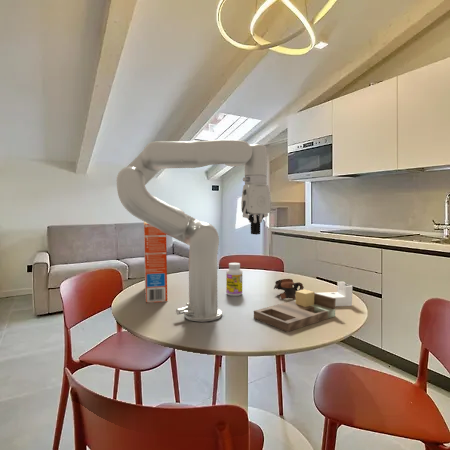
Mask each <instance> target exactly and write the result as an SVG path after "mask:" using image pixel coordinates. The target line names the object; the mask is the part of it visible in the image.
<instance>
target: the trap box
mask: <svg viewBox="0 0 450 450" xmlns="http://www.w3.org/2000/svg"><path fill="white" fill-rule="evenodd" d="M299 289H300V288H299ZM300 290H301V289H300ZM317 293H318V292H314V305H311V306H307V307H304V306H301V305H298V304H296V299H294V300H291V301H287V302H282V303H279V304H275V305H271V306H267V307H263V308H260V309H256V310H255V309H254V310H253V319H254V320H255V319H256V320H257V321H260V322H262V323H265V324H267V325H270V326H272V327H274V328H277V329H279V330H282V331H284V332H287V333H288V332H292V331H294V330H298V329H300V328H304V327H307V326H310V325H313V324H316V323H318V322H321V321H324V320H327V319H330V318H333V317H336V306H335V301H336V299H335V298H332V297H328V296H324V295H320V294H317Z"/></svg>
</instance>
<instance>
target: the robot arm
mask: <svg viewBox="0 0 450 450" xmlns="http://www.w3.org/2000/svg"><path fill="white" fill-rule="evenodd" d="M267 156H268V155H267V147H266V145H264V144H259V143H254V144H249V142H247V141H244V140H241V139H216V140H212V139H211V140H194V141H193V140H189V141H187V140H185V141H184V140H183V141H179V140H177V141H176V140H175V141H173V140H171V141H170V140H167V141H166V140H158V141H151V142H149V143H147V144H146V146H145V147H144V149H143V150H142V151H141V152H140V153H139V154H138V155H137V157H135V159H133V160H132V161H131V162H130V163H128V165H127V166H126V167H123V168H121V169H120V171H118V174H117V176H116V190H117V196H118V199H119V201H120V203H121V204H122V206H123V208H124V209H126V211H127V212H128V214H129V213H130V214H131V215H132V216H134V218H137V219H139V220H140V221H142V222H143V223H144V222H146V223H148V224H149V225H151V226H153V227H155V228H157V229H159V230H160V231H161V232H163V233H165V234H166V236H169V237H171V238H174V239H175V240H177V241H179V242H182V243H184V244H185V245H188V246H189V250H188V251H189V253H188V298H189V299H188V301H189V302H186V304H185V305H186V306H184V307H179V308H176V310H175V312H176V313H175V314H176V315H177V316H179V315H182V314H183V316H184V317H185V319H186V320H189V321H192V322H197V323H200V322H203V323H204V322H212V321H216V320H219V319H221V318H222V316H223V311H222V310H221V309H220V308H218V253H219V252H218V251H219V245H220V244H219V243H220V241H219V239H220V238H219V237H220V236H219V233H218V231H217V229H216V228H215V226H214V225H212V224H210V223H209V222H206V221H201V220H198V219H196V218H195V217H193V216H191V215H188V214H187V213H185V212H184V211H183V209H181V208H178V207H176V206H174V205H172V204H168V203H167V202H165V201H164V200H162V199H160V198H158V197H156V196H154V195H153V194H151V193H150V192H149V191H148V190H147V188H146V185H147V184H148V183H149V182H150V181H151V180H152V179H153V178H154V177H155V176H156V175H157V174H158V173H159V172H160V171H161V170H162V169H197V168H204V167H207V166H213V165H225V166H227V167H240V166H242V167H243V166H244V177H243V178H242V181H243V182H244V185H242V192H241V202H240V203H241V213H242V218H245V219H247V220H248V222H249V223H250V234H251V235H261V223H262V222H263V220H264V218H267V217H268V216H269V214H270V213H271V209H272V208H271V206H272V205H271V194H270V188H269V185H267V159H268V158H267Z"/></svg>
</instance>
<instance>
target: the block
mask: <svg viewBox="0 0 450 450" xmlns="http://www.w3.org/2000/svg"><path fill="white" fill-rule="evenodd" d="M298 290H299V289H298ZM314 293H315V291H312V290H309V289H305V288H303V290H299V291H296V295H295V300H296V304H298V305H301V306H304V307H307V306H311V305H314Z"/></svg>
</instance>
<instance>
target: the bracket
mask: <svg viewBox="0 0 450 450" xmlns="http://www.w3.org/2000/svg"><path fill="white" fill-rule="evenodd" d="M336 283H337V285H336V286H337V291H334V292H333V291H331V292H330V291H329V292H325V291H324V292H316V293H317V294H320V295H324V296H328V297H332V298H335V299H336V301H335V307H352V306H353V285H346V282H345V281H337V282H336Z"/></svg>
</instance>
